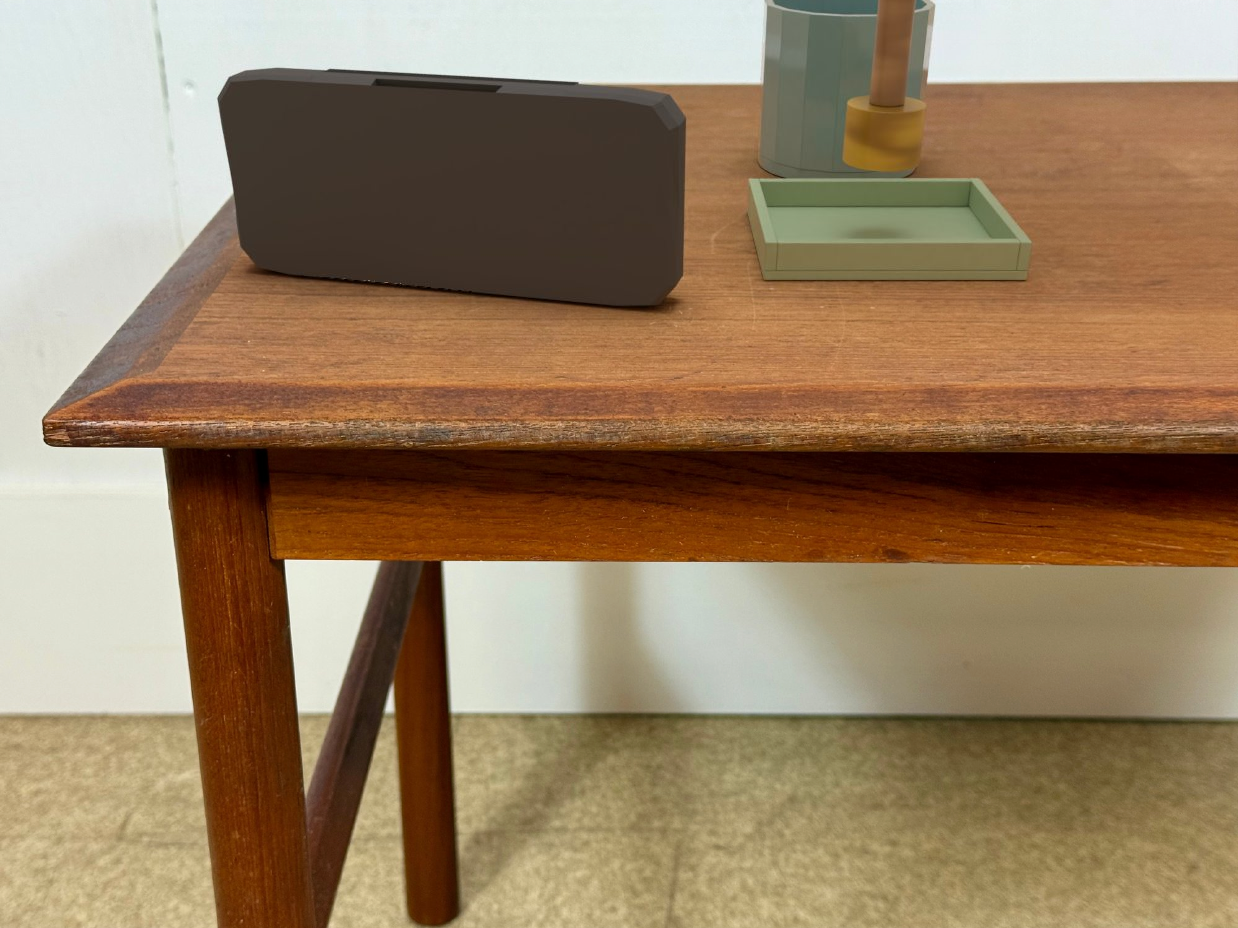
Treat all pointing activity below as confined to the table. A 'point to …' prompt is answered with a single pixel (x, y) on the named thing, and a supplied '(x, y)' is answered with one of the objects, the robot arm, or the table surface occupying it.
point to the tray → (884, 230)
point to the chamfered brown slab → (459, 182)
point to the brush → (887, 100)
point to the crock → (824, 81)
